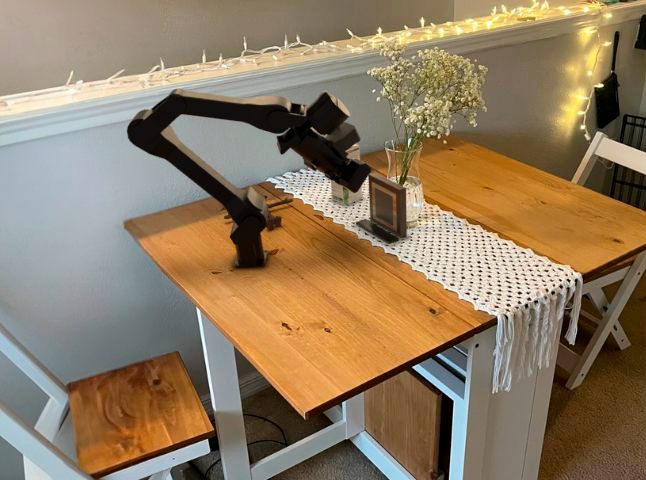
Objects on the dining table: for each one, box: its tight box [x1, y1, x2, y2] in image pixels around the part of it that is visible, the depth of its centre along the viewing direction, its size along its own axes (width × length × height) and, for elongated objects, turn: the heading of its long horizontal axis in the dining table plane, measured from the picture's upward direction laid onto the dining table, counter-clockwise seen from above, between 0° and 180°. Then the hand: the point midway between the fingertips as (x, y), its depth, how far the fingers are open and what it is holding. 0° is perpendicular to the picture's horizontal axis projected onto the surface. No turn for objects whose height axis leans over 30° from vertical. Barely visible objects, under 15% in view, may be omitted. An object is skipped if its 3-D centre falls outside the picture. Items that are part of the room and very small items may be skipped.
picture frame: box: [367, 171, 408, 239], centre depth 154 cm, size 2×12×12 cm, turn 37°
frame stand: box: [355, 218, 400, 245], centre depth 155 cm, size 3×13×1 cm, turn 37°
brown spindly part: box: [223, 197, 294, 231], centre depth 163 cm, size 18×4×14 cm
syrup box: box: [330, 143, 363, 206], centre depth 168 cm, size 6×6×14 cm
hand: (360, 185), depth 147 cm, fingers closed
